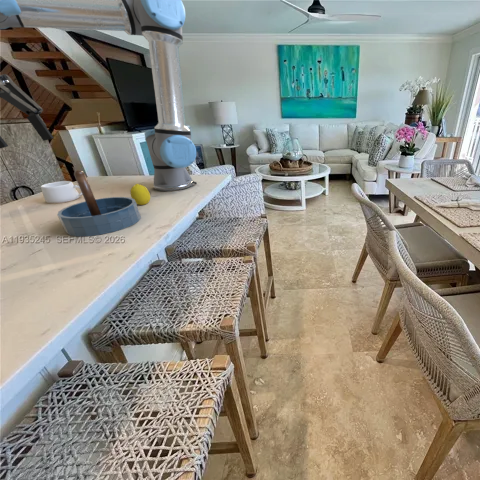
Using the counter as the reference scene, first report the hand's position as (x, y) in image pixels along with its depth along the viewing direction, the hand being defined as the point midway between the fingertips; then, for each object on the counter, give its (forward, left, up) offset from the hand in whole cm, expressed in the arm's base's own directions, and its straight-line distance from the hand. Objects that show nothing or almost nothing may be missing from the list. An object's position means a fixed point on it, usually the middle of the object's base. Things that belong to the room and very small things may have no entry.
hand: (27, 143), depth 71 cm
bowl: (-10, +13, -22) cm, 28 cm away
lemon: (-21, 0, -23) cm, 31 cm away
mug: (+1, -25, -23) cm, 34 cm away
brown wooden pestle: (-9, +13, -22) cm, 27 cm away
